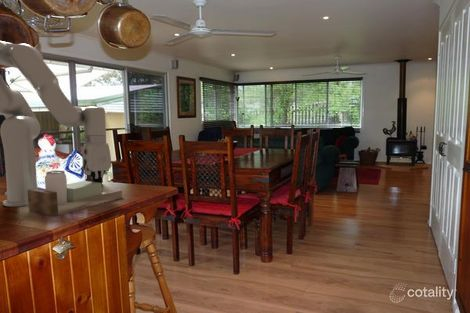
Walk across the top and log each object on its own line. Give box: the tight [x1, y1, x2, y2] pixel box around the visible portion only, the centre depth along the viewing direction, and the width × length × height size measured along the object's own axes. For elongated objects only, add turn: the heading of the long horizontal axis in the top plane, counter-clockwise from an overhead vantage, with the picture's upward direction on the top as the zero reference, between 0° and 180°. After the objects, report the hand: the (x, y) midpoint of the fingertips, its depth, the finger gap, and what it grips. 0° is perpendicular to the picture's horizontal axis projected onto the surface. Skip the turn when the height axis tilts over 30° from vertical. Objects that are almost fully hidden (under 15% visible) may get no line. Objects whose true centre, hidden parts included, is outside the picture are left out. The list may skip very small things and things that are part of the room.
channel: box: [27, 188, 123, 218], centre depth 132 cm, size 12×30×8 cm, turn 152°
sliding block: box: [67, 180, 103, 203], centre depth 132 cm, size 9×12×6 cm
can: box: [44, 170, 68, 205], centre depth 124 cm, size 6×6×12 cm
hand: (97, 188), depth 140 cm, fingers closed
